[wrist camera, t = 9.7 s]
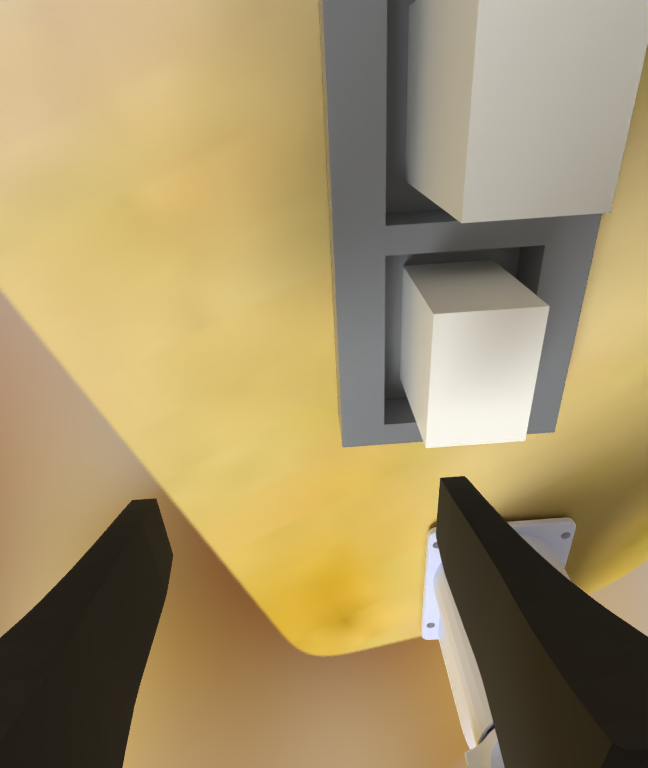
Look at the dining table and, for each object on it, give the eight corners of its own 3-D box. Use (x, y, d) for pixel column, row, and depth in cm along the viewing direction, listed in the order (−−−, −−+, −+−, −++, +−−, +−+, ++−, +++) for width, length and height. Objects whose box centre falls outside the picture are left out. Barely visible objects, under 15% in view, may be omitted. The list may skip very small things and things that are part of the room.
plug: (502, 174, 18) (610, 213, 12) (405, 180, 18) (462, 223, 12) (522, -2, 15) (673, -71, 9) (409, 6, 15) (483, -58, 9)
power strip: (530, 400, 23) (590, 479, 18) (338, 414, 23) (348, 496, 18) (618, -86, 15) (773, -176, 10) (315, -68, 15) (323, -150, 10)
